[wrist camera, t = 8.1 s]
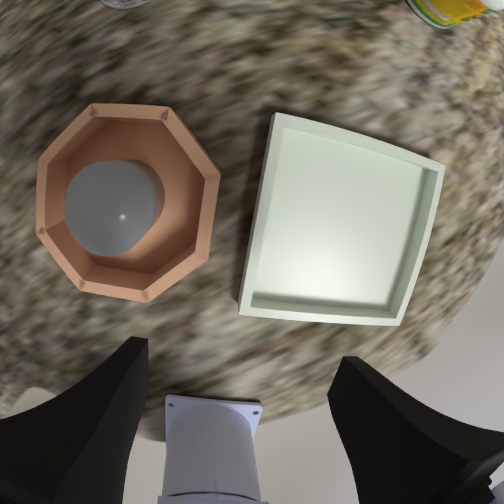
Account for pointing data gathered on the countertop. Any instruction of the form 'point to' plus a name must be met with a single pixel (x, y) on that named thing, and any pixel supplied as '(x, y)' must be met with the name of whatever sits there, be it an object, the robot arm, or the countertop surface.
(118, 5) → the energy drink
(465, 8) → the supplement bottle
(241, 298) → the parts tray
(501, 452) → the robot arm
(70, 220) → the grey cylinder
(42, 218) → the bowl
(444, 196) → the countertop surface
